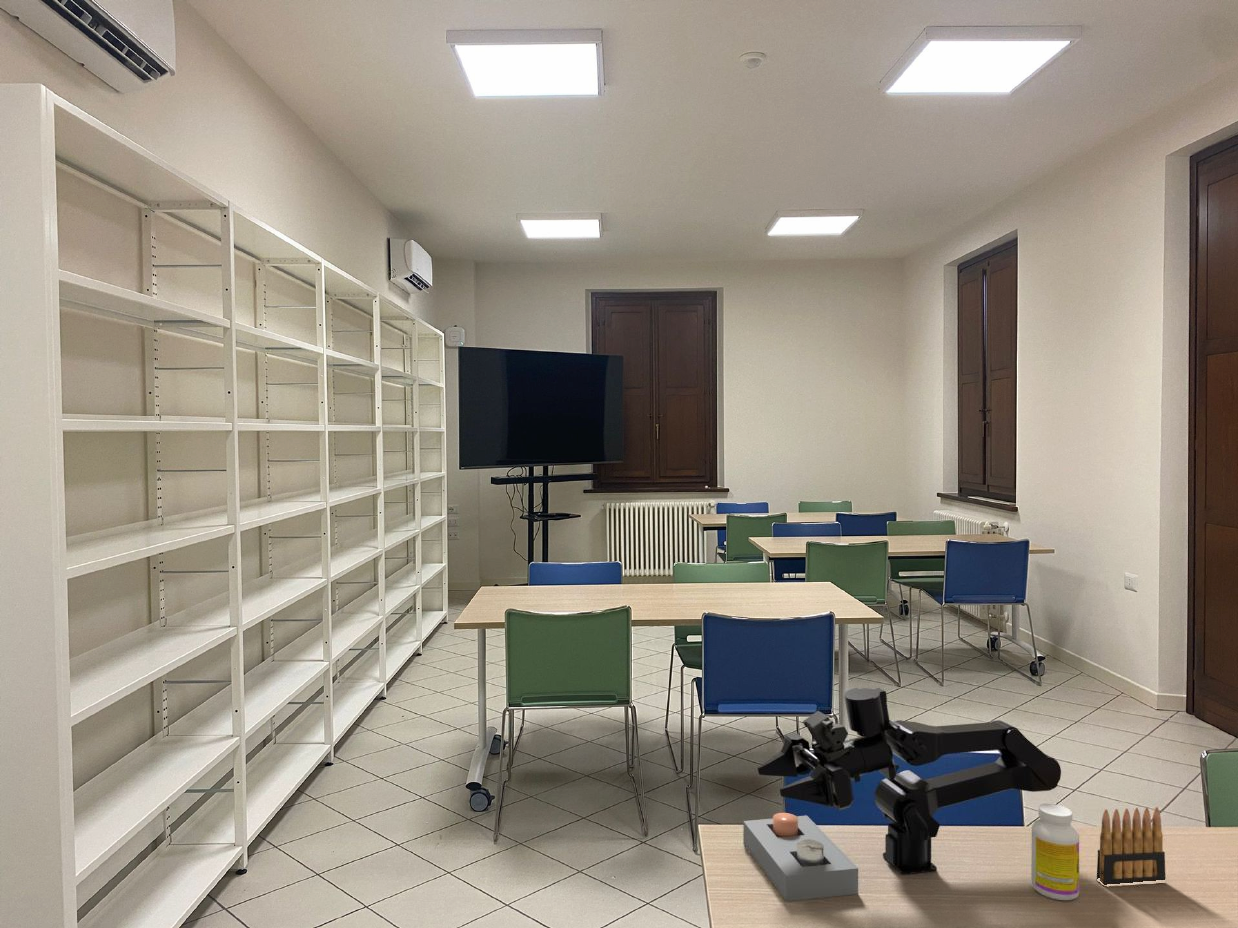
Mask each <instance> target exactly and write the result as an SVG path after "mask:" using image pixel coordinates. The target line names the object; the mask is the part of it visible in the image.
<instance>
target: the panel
mask: <svg viewBox="0 0 1238 928" xmlns="http://www.w3.org/2000/svg"><path fill="white" fill-rule="evenodd" d="M795 816H796V817H797V818H798V836H790V837H779V838H777V837H776V835H775V834H774V833H773V818H763V819H752V820H751V819H750V820H743V823H742V825H743V831H742V833H743V834H742V835H743V840H742V841H743V845H744V847H745V848H746V849H747V850H748V852H749V853H750V855H751V856H752V857H753V859H754V860H755V862H756V863H757V864H758V866H759V867H760V869H762V871H763V872H764V874H765V875H766V877H768V879H769V881H770V882H771V883H772V885H773V886H774V888H776V890H777V891H778V893H779V894H780V896H781V897H782V898H783V900H784V901H785V902H786V903H788V902H795V901H796V902H797V901H804V900H812V899H813V900H814V899H821V898H822V899H823V898H832V897H833V898H834V897H842V896H849V895H850V896H851V895H858V894H859V867H858V866H857V865H856V864H855V863H854V862H853V861H852V860H851V859H850V858H849V857H848V856H847V855H846V854H845V853H844V852H843V851H842V850H841V849H840V848H839V846H837V845H836V844H835V843H834V842H833V840H831V838H830V837H828V835H826V833H825V832H824V831H823V830H822V829H821V828H820V827H819V826H818V825H817V824H816V823H815V822H814V821H813V820H812V819H811V818H810V817H809V816H808V815H795ZM804 839H811V840H816V841H818V842H820V843H822V844H823V846H824V865H818V866H808V867H802V866H801V865H800V864H799V863H798V862H797V842H798V841H800V840H804Z"/></svg>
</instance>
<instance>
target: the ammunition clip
mask: <svg viewBox="0 0 1238 928" xmlns="http://www.w3.org/2000/svg"><path fill="white" fill-rule="evenodd" d="M1141 819H1142V820H1141ZM1121 822H1122V823H1121ZM1100 830H1101V831H1100V834H1099V849H1097V863H1096V864H1097V865H1096V866H1097V867H1096V880H1097V879H1098V878H1100V881H1101V882H1102V883H1103V884H1104V885H1107V884H1120V883H1133V882H1143V881H1156V880H1165V879H1166V854H1165V851H1164V850H1163V848H1164V847H1163V840H1164V838H1163V837H1164V835H1163V831H1162V818H1161V813H1160V809H1159V807H1158V806H1155V808H1154V810H1153V812H1152V818H1151V813H1150V810H1149V808H1148V807H1145V808H1144V810H1143V814H1142V818H1141V813H1140V811H1139V808H1138V807H1135V809H1134V811H1133V814H1132V819H1131V814H1130V812H1129V809H1128V808H1125V809H1124V812H1123V815H1122V821H1121V816H1120V812H1119V809H1118V808H1115V810H1114V811H1113V815H1112V818H1111V819H1110V813H1109V811H1108V809H1106V808H1105V809H1104V811H1103V813H1102V818H1101V827H1100ZM1166 880H1167V879H1166Z"/></svg>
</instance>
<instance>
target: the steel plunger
mask: <svg viewBox="0 0 1238 928" xmlns="http://www.w3.org/2000/svg"><path fill="white" fill-rule="evenodd" d="M797 862H798V863H799V864H800V865H801V866H802V867H808V866H818V865H824V846H823V844H822V843H820V842H818V841H816V840H811V839H804V840H800V841H798V842H797Z"/></svg>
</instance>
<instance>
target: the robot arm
mask: <svg viewBox="0 0 1238 928" xmlns="http://www.w3.org/2000/svg"><path fill="white" fill-rule="evenodd" d="M843 696H844V698H843V699H844V702H845V709H846V715H847V721H848V727H849V729H850V730H851V731H853V732H855V733H856V735H858V737H854V738H850V739H847V737H848V736H849V733H848V731H847V729H846V727H845V726H844V725H842V724H841V723H834V722H833V720H832V719H830V718H829V717H828V716H827V714H824V713H822V712H821V711H819V710H817V711H815V712H814V713H812V714H811V715H809V716H808V717H806V719H804V720H803V721H802V723H803V725H804V727H805V728H807V730H808V731H809V733H810V736H811V737H812V739H813V741H812V742H809V741H808V740H807V739H805V738H804V737H802V736H801V735H800V734H798V733H797V732H796V731H793V732H791V733H785V734H784V739H783V741H782V742H783V746H782V748H781V750H780V751H779V752H778V753H776V754H775V755H774V756H773V757H771V758H769V759H768V760H767V761H765V762H763V764H761V765H759V766H758V767H757V774H758V775H760V776H769V777H786V778H787V777H789V778H791V777H792V778H798V777H799V775H800V776H801V775H802V776H805V775H808V774H810V775H809V776H806V777H803V778H801V779H799V780H796V781H794V782H791V783H789V784H786V785H785V786H783V787H781V788H780V789H779V795H780V797H783V798H788V799H793V800H799V801H804V802H809V803H813V804H818V805H822V806H827V807H828V808H835V809H837V810H838V811H842V810H845V809H848V808H850V807H852V804H853V802H854V800H855V797H854V792H853V788H852V782H853V783H858V782H861V776H864V775H867V774H871V773H874V772H878V771H879V773H880V774H882V775H883V776H885V777H886V778H884V779H881V780H880V781H879V782H878V785H877V787H876V788H875V791H874V802H875V805H876V807H877V808H878V809H879V810H881V812H882V815H883V817H884V818H885V819H887V820H888V821H889V822H890V823H888V824H887V833H886V834H885V837H884V838H885V840H884V842H885V844H884V845H885V848H884V849H885V852H882V857H883V858H884V859H885V860H886V861H887V862H888V863H890V865H891V866H892V867H894V868H895V870H896V871H898V872H899V873H900V874H902V875H909V874H918V873H928V872H937V871H938V869H937V868H938V867H937V866H936V865H935V864H934V863H933V862H932V839H933V838H936V837H937V836H938V833H939V829H940V827H941V826H940V823H939V822H938V821H937V820H936V819H935V818H934V817H933V816H934V815H935V813H936V812H937V811H938V810H939V809H942V808H946V807H949V806H954V805H956V804H960V803H964V802H968V801H971V800H975V799H979V798H982V797H986V796H990V795H994V794H997V793H1002V792H1005V791H1010V790H1017V791H1025V792H1031V793H1037V792H1048V791H1049V792H1050V791H1052V790H1054V789H1056V788H1057V787H1058V784H1059V782H1060V781H1061V776H1062V768H1061V764H1060V763H1059V761H1058V760H1057V759H1055V758H1054V757H1052V756H1050V755H1048V754H1046V753H1045V752H1043V751H1042V750H1041V748H1039V747H1038V746H1036V745H1035V744H1034V743H1033V742H1032V741H1030V740H1029V739H1028V738H1027V737H1026V736H1025V735H1024V734H1023V733H1022V732H1021V731H1020V729H1018V728H1017V727H1015V726H1013V725H1011V724H1008V723H1007V722H1004V721H1002V720H992V721H990V722H979V723H978V722H977V723H975V722H974V723H965V724H963V723H961V724H950V725H949V724H947V725H939V726H938V725H937V726H935V725H928V724H925V723H921V722H917V721H910V720H909V721H907V720H903V719H901V720H894V721H893V720H891V719H890V716H889V715H890V714H889V709H888V703H887V702H888V697H887V691H885V690H883V689H882V688H880V687H878V688H875V689H874V688H868V687H867V688H864V687H863V688H858V687H856V688H855V687H854V688H851V689H849V690H848V689H847V690H846V691H845V692H844V694H843ZM810 743H811V747H810ZM811 748H812V750H813V752H811ZM986 751H988V752H989V751H998V753H999V754H1000V756H999V757H998V758H997V760H996V761H994V762H993V761H992V762H989V763H985V764H980V765H977V766H973V767H969V768H965V769H961V770H958V771H953V772H949V773H945V774H942V775H939V776H938V775H937V776H934V777H930V778H927V779H923V778H922V777H920V776H919V775H917V774H916V773H915V772H913V771H911V770H909V769H908V770H907V769H906V770H903V771H901V772H897V771H898V770H899V769H900V765H899V764H897V763H895V759H894V755H895V756H896V757H897V758H899V759H901V760H902V761H904V762H905V763H907V764H908V765H911V766H914V767H920V766H922V765H927V764H930V763H934V762H936V761H937V760H938V759H940V758H941V757H943V756H946V755H949V754H950V755H953V754H961V753H963V754H964V753H974V752H975V753H976V752H986ZM811 771H812V773H811Z"/></svg>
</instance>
